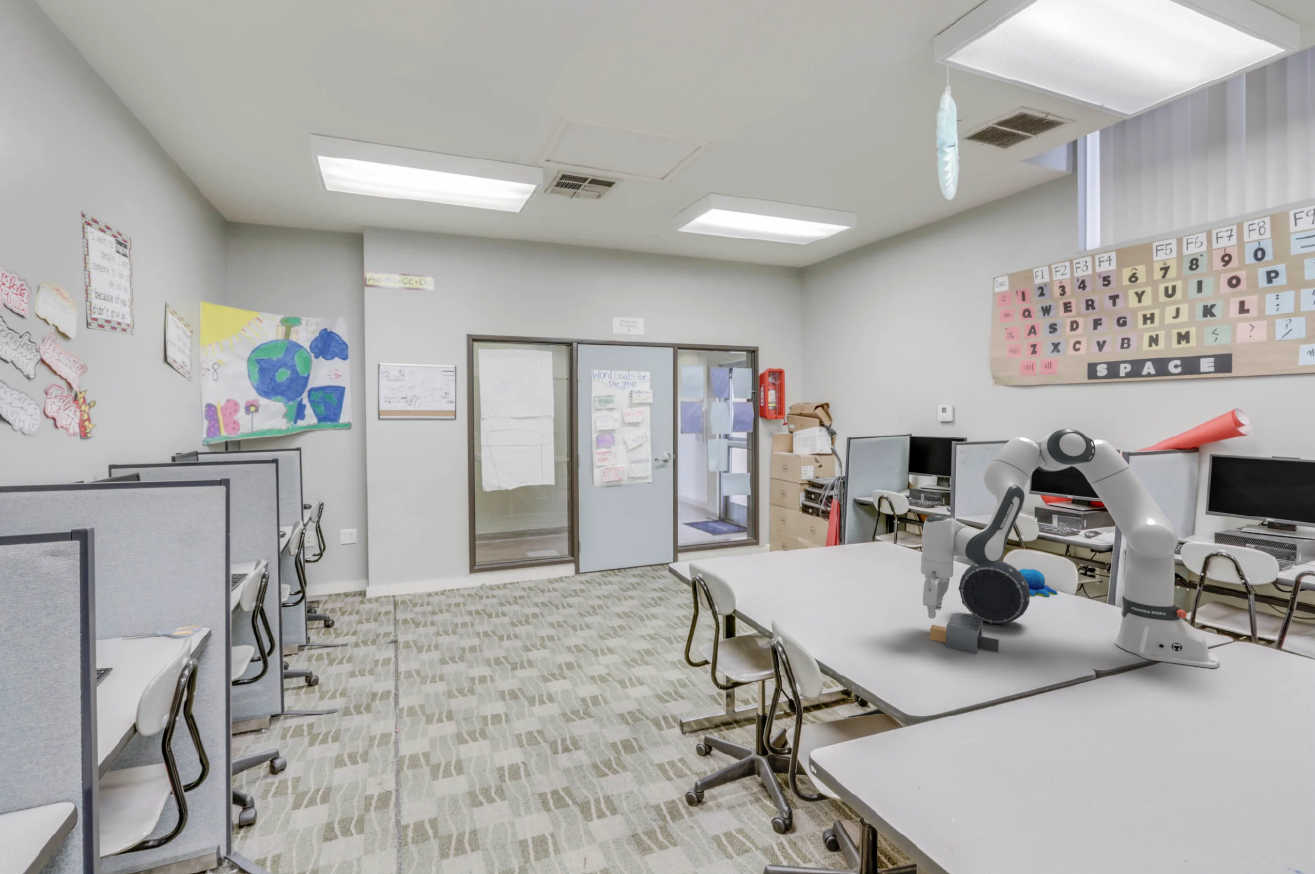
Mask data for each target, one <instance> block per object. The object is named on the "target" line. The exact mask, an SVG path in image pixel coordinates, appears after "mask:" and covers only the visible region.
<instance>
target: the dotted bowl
mask: <svg viewBox="0 0 1315 874" xmlns="http://www.w3.org/2000/svg"><path fill="white" fill-rule="evenodd" d="M958 590H959V595H960V598H961V603H962V604H961V605H963V606H965V608H966V609H967V610H968V611H969V612H970V613H971V614H972V617H974V618H980V619H983V622H987V623H988V624H990V625H994V624H999V625H1000V624H1011V623H1012V622H1014V621H1016V620H1017V619H1019V618H1020V617H1022V616H1023V615H1025V612H1026V611H1027V609H1028V607H1029V605H1030V597H1031V596H1030V589H1029V586H1028V583H1027V581H1026V579H1025V578H1024V576H1023V575H1022V574H1021V573H1020V572H1019V569H1017V568H1016V567H1014V566H1013V565H1011V564H1009V563H1007V562H1004V561H1001V560H1000V561H999V562H998V563H996V564H995V565H993V566H990V567H982V566H979V565H977V564H975V563H973V564H971V565H970V566H969V567H968V568H967V569H966V570H965V571H964V572H963V573H962V576H961V579H960V582H959V586H958Z"/></svg>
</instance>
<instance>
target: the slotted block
mask: <svg viewBox="0 0 1315 874" xmlns="http://www.w3.org/2000/svg"><path fill="white" fill-rule="evenodd" d="M983 622H984V620H983V619H980V618H976V617H974V616H969V615H968V616H967V615H963V614H956V613H953V614H952V615H951V617H950V619H949V621H948V623H947V624H946V627H947V629H946V642H945V648H947V649H951V648H952V649H951V650H956V649H957V651H960V652H961V651H962V652H966V653H967V652H968V653H970V654H971V653H972V654H978V652H979V648H978V641H979V636H983Z"/></svg>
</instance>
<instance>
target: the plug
mask: <svg viewBox="0 0 1315 874" xmlns="http://www.w3.org/2000/svg"><path fill="white" fill-rule="evenodd" d="M946 629H947V626H942V625H938V624H937V625H936V624H932V625H931V626H930V628H929V640H931V639H932V641H936V640H937V642H941V641H942V643H946ZM999 647H1000V639H998V638H992V637H987V636H983V635H982V636H979V641H978V649H980V648H981V650H985V649H986V651H991V652H996V653H999V649H1000V648H999Z"/></svg>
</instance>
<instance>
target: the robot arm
mask: <svg viewBox="0 0 1315 874" xmlns="http://www.w3.org/2000/svg"><path fill="white" fill-rule="evenodd" d="M1071 467H1073V468H1076V469H1077V470H1078V471H1080V472H1081V473H1082V474H1083V476H1084V478H1085V479H1086V480H1087V483H1089V484H1090V486H1091V488H1092V490H1093V491H1094V492H1095V493H1096V495H1097V497H1098V498H1099V499H1100V501H1101V502H1102V504H1103V505H1104V507H1105V508H1106V509H1107V512H1108V513H1109V515H1110V517H1111V518H1112V520H1113V521H1114V523H1115V524H1116V526H1117V528H1118V529H1119V531H1120V533H1121V534H1122V536H1123V537H1124V539H1125V542H1126V543H1125V544H1126V545H1125V574H1124V593H1123V594H1124V595H1123V596H1122V599H1121V607H1120V609H1121V611H1120V613H1121V617H1122V618H1121V623H1120V629H1119V632H1118V634H1117V637H1116V640H1115V642H1114V643H1115V644H1116V646H1118V647H1119V648H1121V649H1122V650H1125V651H1128V652H1130V653H1132V654H1135V655H1138V656H1140V657H1142V658H1143V659H1146V660H1149V661H1150V660H1151V661H1155V662H1156V661H1159V662H1166V663H1173V664H1179V665H1186V666H1196V667H1201V668H1210V669H1215V668H1218V667H1219V666H1220V664H1219V663H1220V662H1219V658H1218V657H1217V655H1216V654H1214V653H1213V652H1212V651H1210V650H1209V646H1208V642H1207V640H1206V638H1205V636H1204V635H1203V634H1202V633H1201V632H1200V631H1198V630H1197V629H1196V628H1194V627H1193V626H1192V625H1190V624H1189V623H1188V622H1187V621H1185V620H1184V619H1185V618H1187V615H1188V614H1187V613H1186V610H1183V608H1182V607H1180V606H1179V605H1178V604H1175V603H1174V598H1175V581H1176V580H1175V578H1176V576H1175V573H1176V572H1175V549H1176V548H1177V546H1178V543H1179V538H1178V534H1177V532H1176V529H1175V526H1174V525H1173V523H1172V522H1171V521H1170V519H1168V518H1167V517H1166V516H1165V514H1164V513H1163V511H1162V510H1161V508H1160V507H1159V506H1158V504H1157V503H1156V501H1155V500H1154V498H1153V497H1152V496H1151V493H1150V492H1149V491H1148V490H1147V488H1146V486H1145V485H1144V484H1143V483H1142V481H1141V480H1140V479H1139V477H1138V476H1137V474H1136V473H1135V471H1134V470H1133V469H1132V467H1131V466H1130V464H1129V463H1128V462H1127V460H1125V458H1124V457H1123V456H1122V455H1121V453H1120V452H1119V451H1118V450H1117V449H1116V448H1115V447H1114V446H1112V444H1110V442H1109V441H1107V440H1104V439H1092V438H1090V437H1088V436H1087V435H1085V434H1084V433H1082V432H1081V431H1079V430H1077V429H1074V428H1073V429H1072V428H1063V429H1058V430H1055V431H1054V432H1051V433H1049V434H1047V435H1045V436H1043V437H1042V438H1040V439H1038V440H1037V441H1033V440H1032V439H1030V438H1028V437H1024V436H1015V437H1013V438H1011V439H1009V440H1008V441H1007V442H1006V443H1005V444H1004V445H1003V446H1002V447H1001V449H1000V450H998V452H997V453H996V454H995V456H994V458H993V459H992V461H991V462H990V463H989V465H988V467H987V468H986V469H985V472H984V475H983V482H984V485H985V487H986V489H987V490H988V492H990V493H991V494H992V495H993V496H994V497H995V499H996V501H997V503H996V507H995V508H994V511H993V513H992V515H991V517H990V520H989V522H988V524H987V526H986V527H984V528H983V529H980V528H979V529H978V528H975V527H973V526H970V525H967V524H964V523H962V522H960V521H958V520H956V519H955V518H954V517H953V516H951V515H950V514H946V513H945V514H944V513H938V514H937V513H935V514H932V515H929V516H927V517H926V518H925V521H924V523H923V526H922V535H921V545H922V553H921V556H920V558H921V559H920V573H921V574H923V575H924V578H925V580H924V583H923V590H922V591H923V593H922V605H923V606H925V607H926V608H927V617H928V618H929V619H933V620H934V619H935V618H936V614H937V613H936V611H937V610H938V611H940V610H942V605H943V601H944V596H945V595H946V593H947V592H948V590H949V586H950V585H949V584H950V581H951V580H950V579H951V578H952V577H953V576H954V557H955V556H956V557H957V556H958V557H960V558H961V559H965V560H968V561H970V562H971V563H973V564H977V565H979V566H982V567H990V566H993V565H995V564H996V563H998V562H999V561H1001V560H1002V558H1003V556H1004V553H1005V551H1006V550H1005V549H1006V545H1007V542H1008V539H1009V537H1010V534H1011V532H1012V530H1013V528H1014V526H1015V523H1016V521H1017V519H1018V516H1019V515H1020V513H1021V510H1022V508H1023V504H1024V502H1025V498H1026V497H1025V495H1026V494H1025V492H1024V490H1025V487H1026V486H1027V483H1028V481H1029V480H1030V478H1031V476H1032V475H1033V472H1035V470H1039V471H1041V472H1045V473H1048V472H1049V473H1054V472H1058V471H1061V470H1065V469H1066V470H1067V469H1069V468H1071Z"/></svg>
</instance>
